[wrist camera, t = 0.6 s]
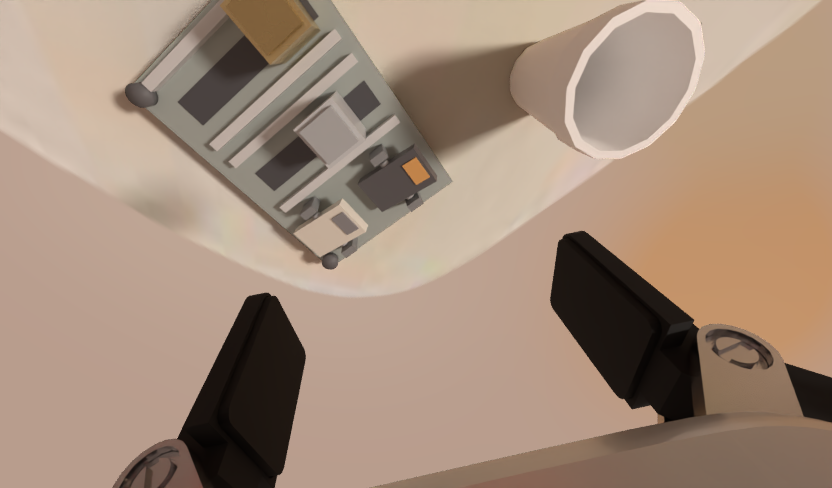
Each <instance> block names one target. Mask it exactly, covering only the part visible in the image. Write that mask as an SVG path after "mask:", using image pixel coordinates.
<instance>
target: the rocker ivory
mask: <svg viewBox="0 0 832 488" xmlns="http://www.w3.org/2000/svg"><path fill="white" fill-rule="evenodd" d="M367 227H368V224H367V223H366V222H365V221H364V220H363V219H362V218H361V217H360V216H359V215H358V214H357V213H356V212H355V211H354V210H353V209H352V207H351V206H350V205H349V204H348V203H347V202H346V201H345V200H344V199H343V198H342V199H340V200H339V201H337V202H336V203H334V204H333V205H331V206H329V207H328V208H326V209H325V210H323V211H322V212H320V213H319V212H318V211H317V212H316V213H315V214H314V215H313V216H312V218H311V219H309V220H307V221H306V222H304V223H303V224H301V225H300V226H298V227H297V228H296V230H295V231H294V233H293V234H294V235H295V236H296V237H298V238H299V239H300V240H301V241H302V242H303V243H304V244H306V245H307V246H308V247H309V248H310V249H311V250H312V251H314V252H315V253H316V254H317V255H318V256H319V257H321V256H323V255H325V254H327V253H329V252H330V251H332V250H334V249H336V248H338V247H340V246H341V245H342V246H345V245H346V244H347V243H348V242H349V241H350V240H352V239H354V238H356V237H358V236H360V235H361V234H363V233H365V232H366V230H367Z"/></svg>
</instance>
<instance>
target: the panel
mask: <svg viewBox="0 0 832 488" xmlns="http://www.w3.org/2000/svg"><path fill="white" fill-rule="evenodd" d="M223 1H224V0H212V1H211V2H210V3H209V4H208V5H207V6H206V7H205V8H204V9H203V10H202V11H201V12H200V13H199V15H198V16H197V17H196V18H195V19H194V20H193V21H192V22H191V23H190V24H189V25H188V26H187V27H186V28H185V29H184V31H183V32H182V33H181V34H180V35H179V36H178V37H177V38H176V39H175V40H174V41H173V42H172V43H171V44H170V45H169V47H168V48H167V49H166V50H165V51H164V52H163V53H162V54H161V55H160V56H159V57H158V58H157V59H156V60H155V61H154V62H153V64H152V65H151V66H150V67H149V68H148V69H147V70H146V71H145V72H144V73H143V74H142V75H141V76H140V77H139V78H138V80H137V81H136V82H135V83H131V84H128V85H127V86H126V88H125V93H126V96H127V98H128V99H129V101H130V102H131V103H133V104H134V105H136V106H138V107H141V108H146V109H147V110H148V111H150V112H151V113H152V114H153V115H154V116H155V117H157V118H158V119H159V120H160V121H161V122H162V123H163V124H165V125H166V126H167V127H168V128H169V129H170V130H172V131H173V132H174V133H175V134H176V135H177V136H178V137H180V138H181V139H182V140H183V141H184V142H185V143H187V144H188V145H189V146H190V147H191V148H192V149H194V150H195V151H196V152H197V153H198V154H199V155H200V156H202V157H203V158H204V159H205V160H206V161H207V162H209V163H210V164H211V165H212V166H213V167H214V168H215V169H217V170H218V171H219V172H220V173H221V174H222V175H224V176H225V177H226V178H227V179H228V180H229V181H231V182H232V183H233V184H234V185H235V186H236V187H237V188H239V189H240V190H241V191H242V192H243V193H244V194H246V195H247V196H248V197H249V198H250V199H251V200H252V201H254V202H255V203H256V204H257V205H258V206H259V207H261V208H262V209H263V210H264V211H265V212H266V213H268V214H269V215H270V216H271V217H272V218H273V219H274V220H276V221H277V222H278V223H279V224H280V225H281V226H283V227H284V228H285V229H286V230H287V231H288V232H289V233H291V234H292V235H293V236H294V237H295V238H296V239H298V240H299V241H300V242H301V243H302V244H303V245H305V246H306V247H307V248H308V249H309V250H310V251H311V252H313V253H314V254H315V255H316V256H317V257H318V258H320V259H321V260H322V265H323V267H325V268H326V269H334V268H336V267H337V265H338V262H340V261H341V260H342V259H344V258H345V257H346V258H347V257H348V256H350V255H351V254H352V253H354V252H355V251H357V249H358V248H359V247H361V246H362V245H364V244H365V243H367V242H368V241H369V240H371V239H372V238H374V237H375V236H376V235H378V234H379V233H381V232H382V231H384V230H385V229H386V228H388V227H389V226H391V225H392V224H393V223H395V222H396V221H398V220H399V219H400V218H402V217H403V216H405V215H406V214H408V213H409V212H410V211H411V212H412V211H413V210H415V209H416V208H418V207H419V206H421V205H422V204H423V202H425V201H426V200H427V199H429V198H430V197H432V196H433V195H434V194H436V193H437V192H439V191H440V190H442V189H443V188H444V187H446V186H447V185H449V184H450V183H451V182H453V181H452V180H451V178H450V177H449V175H448V174H447V172H446V171H445V169H444V168H443V166H442V165H441V163H440V162H439V160H438V159H437V157H436V156H435V154H434V153H433V151H432V150H431V148H430V147H429V145H428V144H427V142H426V141H425V139H424V138H423V136H422V135H421V133H420V132H419V130H418V129H417V128H416V126H415V125H414V123H413V122H412V120H411V119H410V117H409V116H408V114H407V113H406V111H405V110H404V108H403V107H402V105H401V104H400V102H399V101H398V99H397V98H396V96H395V95H394V93H393V92H392V90H391V89H390V87H389V86H388V84H387V83H386V81H385V80H384V78H383V77H382V75H381V74H380V72H379V71H378V70H377V68H376V67H375V65H374V64H373V62H372V61H371V59H370V58H369V56H368V55H367V53H366V52H365V50H364V49H363V47H362V46H361V44H360V43H359V41H358V40H357V38H356V37H355V35H354V34H353V32H352V31H351V29H350V28H349V26H348V25H347V23H346V22H345V20H344V19H343V17H342V16H341V15H340V13H339V12H338V10H337V9H336V7H335V6H334V4H333V3H332V1H331V0H299V1H300V2H301V3H302V5H303V6H304V7H305V9H306V10H307V12H308V13H309V14H310V16H311V17H312V19H313V20H314V21H315V23H316V24H317V25H318V27H319V28H320V30H321V31H320V32H319V33H318V34H317V35H316V36H315V37H314V38H312V39H311V40H310V41H309V42H308V43H307V44H306V45H305V46H304V47H303V48H302V49H301V50H300V51H298V52H297V53H296V54H295V55H294V56H293V57H292V58H291V59H290V60H289V61H288V62H287V63H283V64H273V65H270V64H269V63H268V62H267V61H266V59H265V58H264V57H263V56H262V55H261V54H260V52H259V51H258V50H257V49H256V48H255V47H254V45H253V44H252V43H251V42H250V41H249V39H248V38H247V37H246V36H245V35H244V34H243V32H242V31H241V30H240V29H239V28H238V27H237V25H236V24H235V23H234V22H233V21H232V20H231V18H230V17H229V16H228V15H227V14H226V13H225V11H224V10H223V9H222V8H221V7H220V5H221V4H222V2H223ZM336 91H337V92H338V93H339V94H340V95H341V97H342V98H343V99H344V101H345V102H346V103H347V105H348V106H349V107H350V108H351V110H352V111H353V112H354V114H355V115H356V116H357V117H358V119H359V120H360V121H361V123H362V124H363V125H364V127H365V128H366V141H364V142H363V143H362V144H361V145H359V146H358V147H357V148H356V149H354V150H353V151H352V152H351V153H349V154H348V155H347V156H346V157H344V158H343V159H342V160H341V161H339V162H338V163H337V164H336V165H334V166H333V167H332V168H331V169H328V167H327V166H326V165H325V164H324V163H323V162H322V161H321V160H320V159H319V158H318V157H317V155H316V154H315V153H314V152H313V151H312V150H311V149H310V148H309V147H308V146H307V145H306V144H305V142H304V141H303V140H302V139H301V138H300V137H299V136H298V135H297V134H296V133H295V132H294V129H295V128H296V127H297V126H298V125H299V124H300V123H301V122H302V121H303V120H304V119H305V118H306V117H307V116H308V115H309V114H310V113H312V112H313V111H314V110H315V109H316V108H317V107H318V106H320V105H321V104H322V103H323V102H324V101H325V100H327V99H328V98H329V97H330V96H331V95H332V94H334V93H335V92H336ZM414 143H415V144H416V146H417V147H418V149H419V150H420V152H421V153H422V154H423V156H424V157H425V159H426V160H427V162H428V163H429V164H430V166H431V167H432V169H433V170H434V172H435V173H436V175H437V181H436V182H435V183H433V184H431V185H429V186H428V187H426V188H424V189H422V190H421V191H419V192H417V193H415V194H414V196H413V197H412V198H411V199H408V200H407V199H405V200H403V201H401V202H399V203H398V204H396V205H394V206H392V207H391V208H389V209H387V210H385V211H384V212H381V211H380V209H379V208H378V207H377V206H376V205H375V204H374V203H373V202H372V200H371V199H370V198H369V197H368V196H367V195H366V194H365V193H364V191H363V190H362V189H361V188H360V187H359V186H358V185H357V184H358V182H359V180H360V179H361V178H362V177H364V176H365V175H367V174H368V173H370V172H371V171H373V170H374V169H376V168H377V167H379V166H380V163H382V162H383V161H384V160H386V159H387V160H390V159H391V158H393V157H394V156H396V155H397V154H399V153H400V152H402V151H403V150H405V149H407V148H408V147H410V146H411V145H413V144H414ZM342 198H343V199H344V200H345V201H346V202H347V203H348V204H349V205H350V206H351V207H352V209H353V210H354V211H355V212H356V213H357V214H358V215H359V216H360V217H361V218H362V219H363V220H364V221H365V222H366V223H367V224H368V227H367V230H366V232H365V233H363V234H361V235H360V236H358V237H356V238H354V239H352V240H350V241H349V242H348V243H347V244H346V245H345V246H342V245H341V246H340V247H338V248H336V249H334V250H332V251H330V252H329V253H327V254H325V255H323V256H321V257H319V256H318V255H317V254H316V253H315V252H314V251H312V250H311V249H310V248H309V247H308V246H307V245H306V244H304V243H303V242H302V241H301V240H300V239H299V238H298V237H296V236H295V235H294V234H293V233H294V231H295V230H296V228H297V227H298V226H300V225H301V224H303V223H304V222H306V221H307V220H309V219H311V218H312V216H313V215H314V214H315V213H316V212H317V211H318V212H319V213H320V212H322V211H323V210H325V209H326V208H328V207H329V206H331V205H333V204H334V203H336V202H337V201H339V200H340V199H342Z"/></svg>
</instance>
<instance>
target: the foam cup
mask: <svg viewBox="0 0 832 488" xmlns="http://www.w3.org/2000/svg"><path fill="white" fill-rule="evenodd" d="M704 57H705V48H704V41H703V34H702V27H701V21H700V20H699V19H698V18H697V17H696V16H695V15H694V14H693V13H692V12H691V11H690V10H689V9H688V8H687V7H686V6H685V5H684V4H683V3H682V2H681V1H669V0H643V1H638V2H633V3H628V4H623V5H619V6H617V7H615V8H613V9H611V10H610V11H608V12H606V13H604V14H602V15H600V16H598V17H596V18H594V19H592V20H590V21H588V22H586V23H583V24H581V25H578V26H576V27H573V28H571V29H568V30H566V31H563V32H561V33H558V34H556V35H553V36H551V37H548V38H546V39H543V40H541V41H539V42H537V43H535V44H533V45H531V46H529V47H527V48H526V49H525V50H524V51H523V53H522V54H521V55H520V56H519V57H518V59H517V60H516V61H515V64H514V67H513V69H512V72H511V75H510V93H511V95H512V97H513V99H514V100H515V102H516V104H517V105H518V106H519V107H521V108H522V109H523V110H525V111H526V112H527V113H529V114H530V115H531V116H533V117H534V118H535V119H537V120H538V121H539V122H541V123H542V124H543V125H545V126H546V127H547V128H548V129H550V130H551V131H552V132H554V133H555V134H556V136H557V138H558V140H560V141H562V142H563V143H565V144H567V145H568V146H570V147H572V148H573V149H575V150H576V151H579V152H581V153H583V154H585V155H587V156H590V157H592V158H594V159H621V158H624V157H626V156H628V155H630V154H632V153H634V152H637V151H639V150H641V149H643V148H645V147H647V146H649V145H651V144H652V143H653V142H654V141H655V140H656V139H657V138H658V137H659V136H660V135H662V134H663V133H664V132H665V131H666V130H667V129H668V128H669V127H670V126H672V125H673V124H674V123H675V122H676V120H677V119H678V117H679V115H680V114H681V112H682V111H683V109H684V108H685V106H686V104H687V103H688V101H689V100H690V98H691V96H692V95H693V93H694V92H695V90H696V87H697V83H698V79H699V76H700V72H701V68H702V65H703V61H704Z"/></svg>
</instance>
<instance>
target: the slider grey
mask: <svg viewBox="0 0 832 488" xmlns="http://www.w3.org/2000/svg"><path fill="white" fill-rule="evenodd" d="M294 132H295V133H296V134H297V135H298V136H299V137H300V138H301V139H302V140H303V141H304V142H305V144H306V145H307V146H308V147H309V148H310V149H311V150H312V151H313V152H314V153H315V154H316V155H317V157H318V158H319V159H320V160H321V161H322V162H323V163H324V164H325V165H326V166H327V167H328V169H331V168H332V167H333V166H334V165H336V164H337V163H338V162H339V161H341V160H342V159H343V158H344V157H346V156H347V155H348V154H349V153H351V152H352V151H353V150H354V149H356V148H357V147H358V146H359V145H361V144H362V143H363V142H364V141H366V128H365V127H364V125H363V124H362V123H361V121H360V120H359V119H358V117H357V116H356V115H355V114H354V112H353V111H352V110H351V108H350V107H349V106H348V105H347V103H346V102H345V101H344V99H343V98H342V97H341V95H340V94H339V93H338V92H337V91H336V92H335V93H334V94H332V95H331V96H330V97H329V98H328V99H327V100H325V101H324V102H323V103H322V104H321V105H320V106H318V107H317V108H316V109H315V110H314V111H313V112H312V113H310V114H309V115H308V116H307V117H306V118H305V119H304V120H303V121H302V122H301V123H300V124H299V125H298V126H297V127H296V128H295V129H294Z"/></svg>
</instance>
